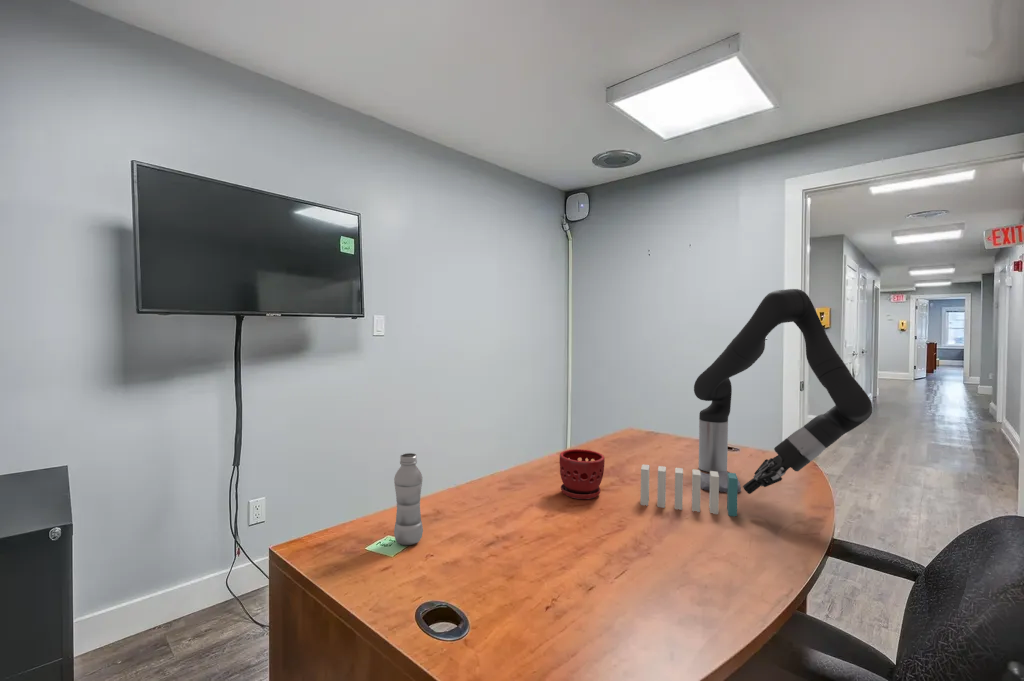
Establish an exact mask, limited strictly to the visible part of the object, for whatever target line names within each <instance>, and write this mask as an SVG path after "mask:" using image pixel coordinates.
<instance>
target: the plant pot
mask: <svg viewBox="0 0 1024 681" xmlns="http://www.w3.org/2000/svg"><path fill="white" fill-rule="evenodd" d="M605 458H606V457H605V456H604V455H603V454H602V453H600V452H598V451H594V450H588V449H582V448H581V449H580V448H579V449H578V448H576V449H575V448H573V449H572V448H571V449H567V450H564V451H561V452H560V453H559V474H560V479H561V482H562V484H561V485H560V490H561V492H562V493H563V494H564V495H565V496H567V497H569V498H572V499H578V500H590V499H595V498H596V497H598V495H600V493H601V487H600V486H601V483H602V481H603V477H604V472H605ZM579 459H581V460H579ZM586 459H587V460H586Z"/></svg>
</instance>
